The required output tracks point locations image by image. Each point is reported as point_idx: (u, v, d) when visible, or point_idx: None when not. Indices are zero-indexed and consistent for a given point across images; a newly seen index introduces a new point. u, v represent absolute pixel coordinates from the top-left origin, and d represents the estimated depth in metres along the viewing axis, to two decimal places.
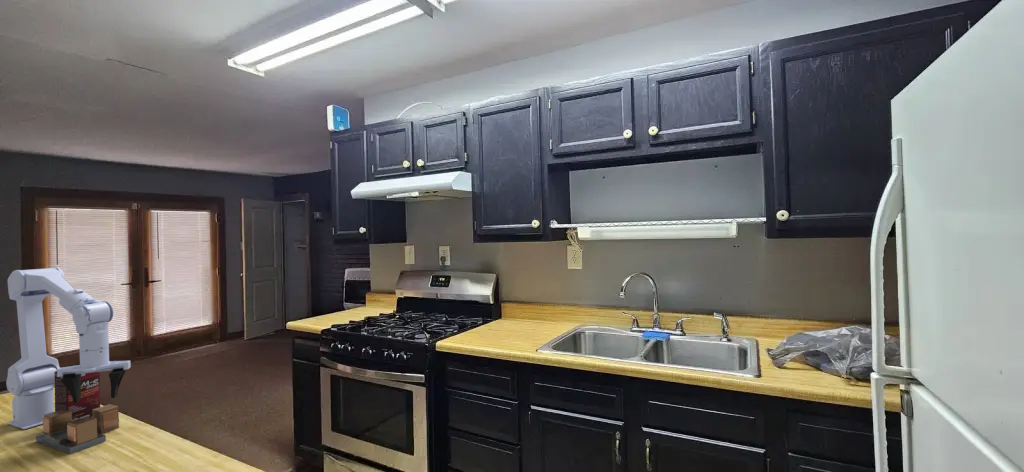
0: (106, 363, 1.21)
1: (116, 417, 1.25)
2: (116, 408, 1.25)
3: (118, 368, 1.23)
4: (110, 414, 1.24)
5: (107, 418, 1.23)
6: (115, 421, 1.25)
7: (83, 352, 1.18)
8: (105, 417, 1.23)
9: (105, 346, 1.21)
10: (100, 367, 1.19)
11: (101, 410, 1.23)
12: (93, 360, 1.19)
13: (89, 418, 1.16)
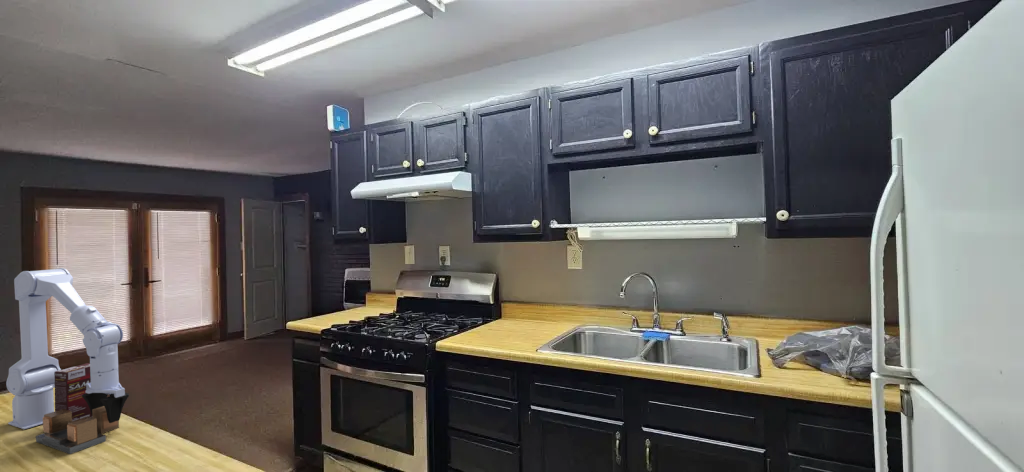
0: (106, 387, 1.23)
1: None
2: None
3: (113, 394, 1.22)
4: None
5: (107, 418, 1.23)
6: (115, 421, 1.25)
7: None
8: (105, 418, 1.23)
9: (116, 367, 1.25)
10: (97, 390, 1.21)
11: (101, 410, 1.23)
12: (93, 382, 1.22)
13: (89, 418, 1.16)
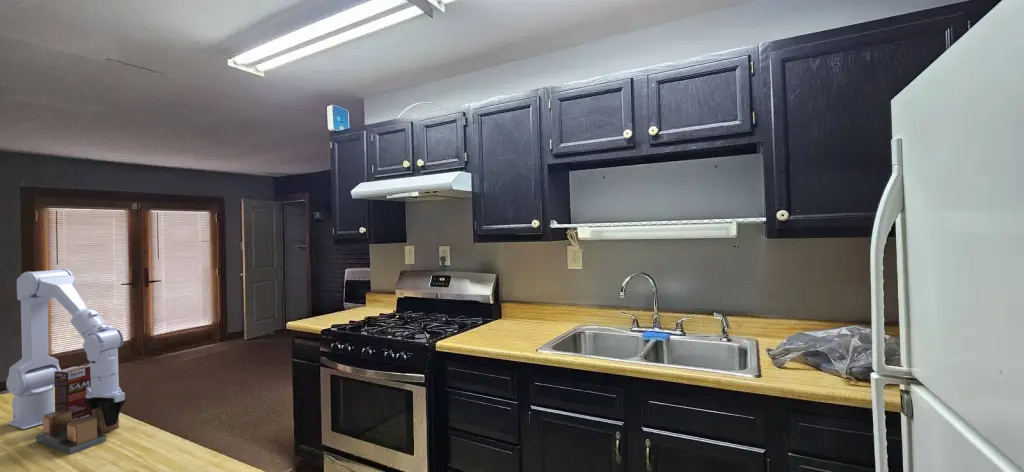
0: (106, 391, 1.23)
1: None
2: None
3: (113, 399, 1.22)
4: None
5: None
6: None
7: (90, 377, 1.23)
8: None
9: (116, 372, 1.25)
10: (98, 395, 1.21)
11: (101, 410, 1.23)
12: (93, 387, 1.22)
13: (89, 418, 1.16)
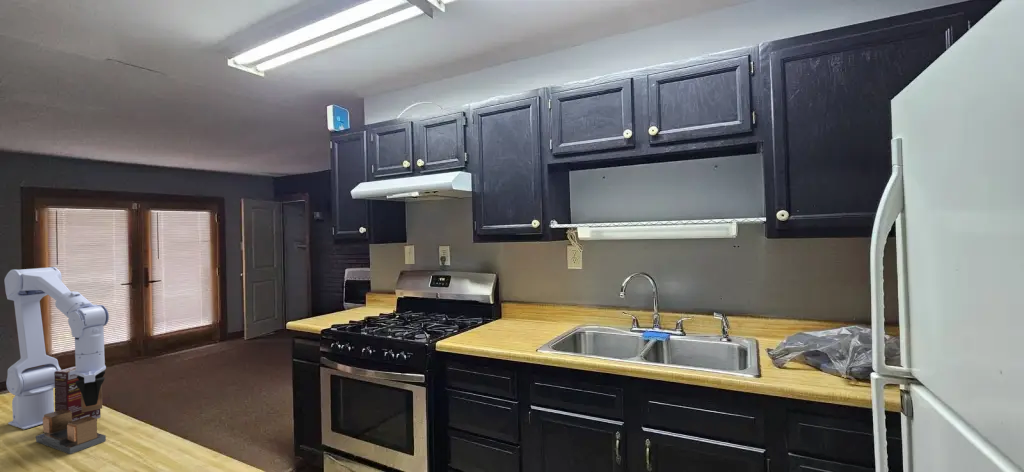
0: (85, 370, 1.19)
1: (98, 397, 1.21)
2: None
3: None
4: None
5: None
6: (97, 401, 1.21)
7: None
8: None
9: (101, 350, 1.22)
10: (77, 373, 1.19)
11: None
12: None
13: (89, 418, 1.16)
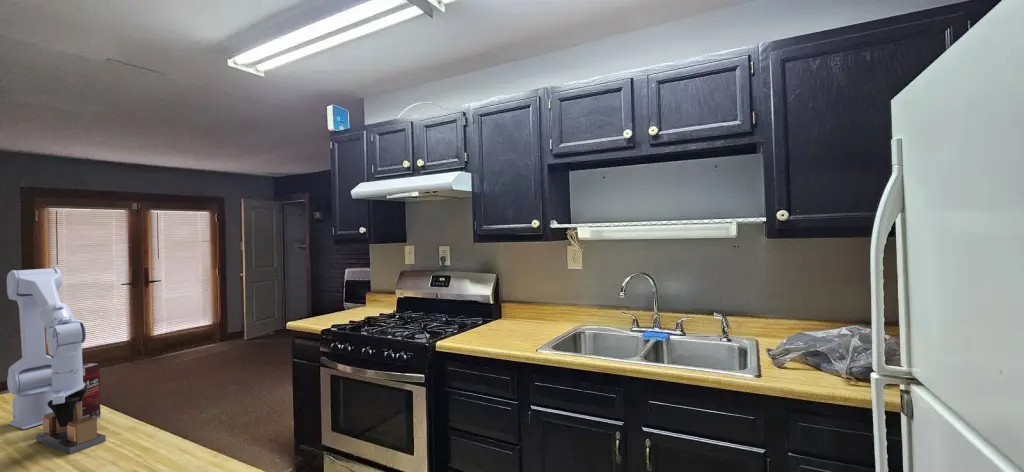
0: (59, 389, 1.15)
1: (73, 418, 1.16)
2: (75, 408, 1.17)
3: None
4: None
5: None
6: None
7: None
8: None
9: (76, 368, 1.17)
10: (52, 392, 1.15)
11: None
12: (52, 382, 1.15)
13: (89, 418, 1.16)
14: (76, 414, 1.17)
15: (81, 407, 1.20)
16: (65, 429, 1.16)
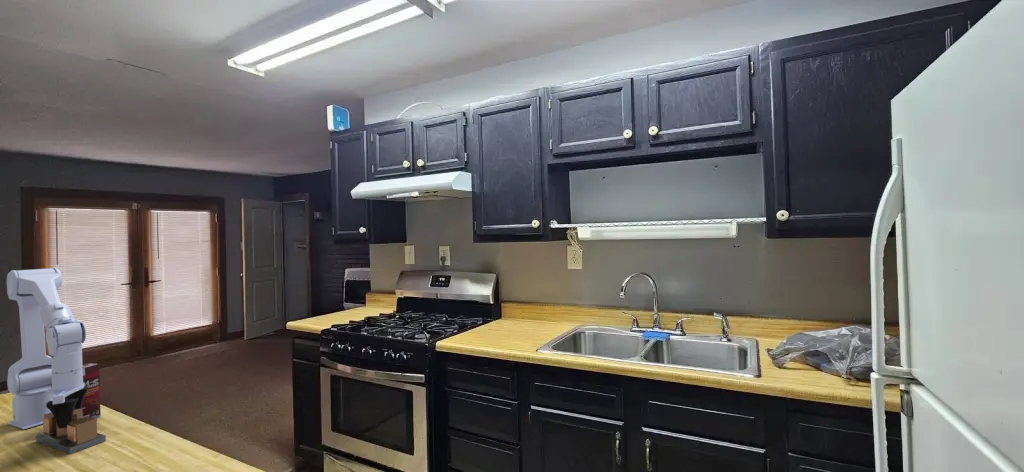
0: (59, 389, 1.15)
1: None
2: (75, 415, 1.17)
3: None
4: None
5: None
6: None
7: None
8: None
9: (76, 368, 1.17)
10: (52, 392, 1.14)
11: None
12: (52, 382, 1.15)
13: (89, 418, 1.16)
14: None
15: (81, 414, 1.20)
16: (65, 437, 1.16)
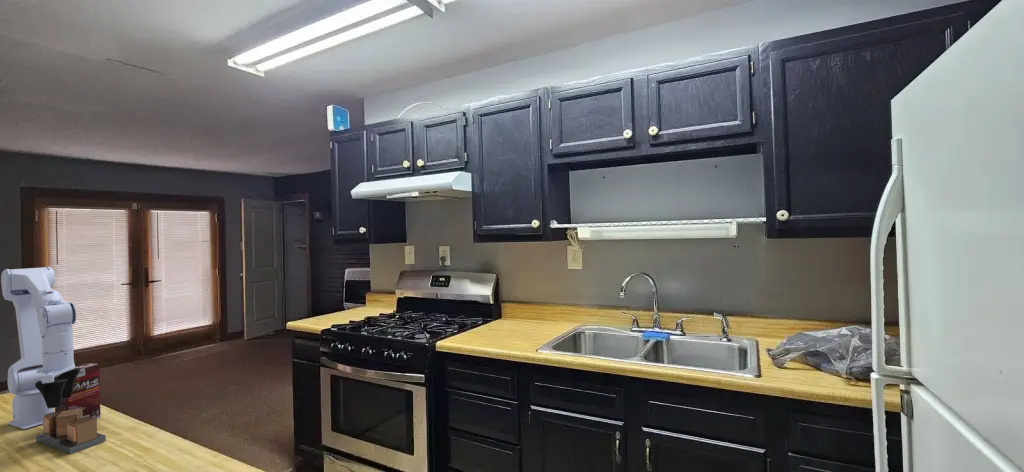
0: (49, 369, 1.16)
1: None
2: (75, 415, 1.17)
3: None
4: (66, 421, 1.16)
5: (62, 425, 1.15)
6: None
7: None
8: (60, 424, 1.15)
9: (66, 349, 1.18)
10: None
11: (60, 415, 1.16)
12: (42, 362, 1.16)
13: (89, 418, 1.16)
14: None
15: (81, 414, 1.20)
16: (65, 437, 1.16)
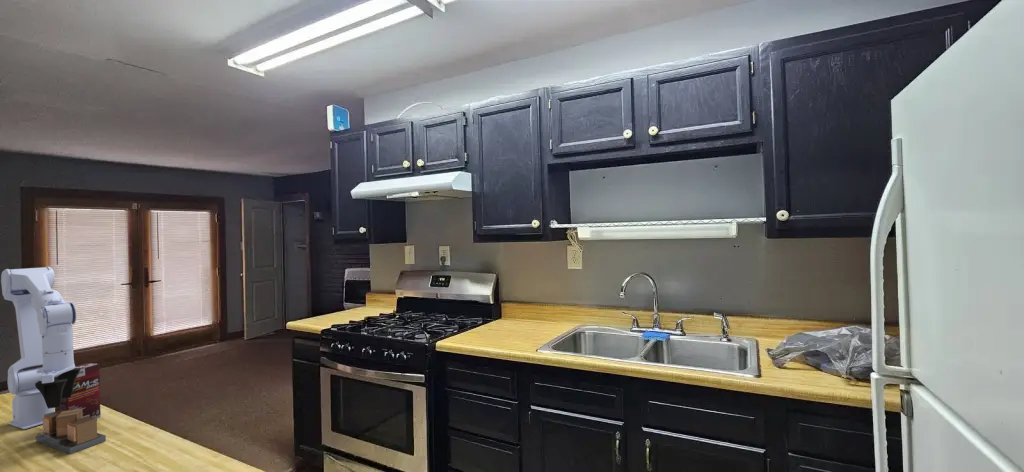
0: (49, 369, 1.16)
1: None
2: (75, 415, 1.17)
3: None
4: (66, 421, 1.16)
5: (62, 425, 1.15)
6: None
7: None
8: (60, 424, 1.15)
9: (66, 349, 1.18)
10: None
11: (60, 415, 1.16)
12: (42, 362, 1.16)
13: (89, 418, 1.16)
14: None
15: (81, 414, 1.20)
16: (65, 437, 1.16)
